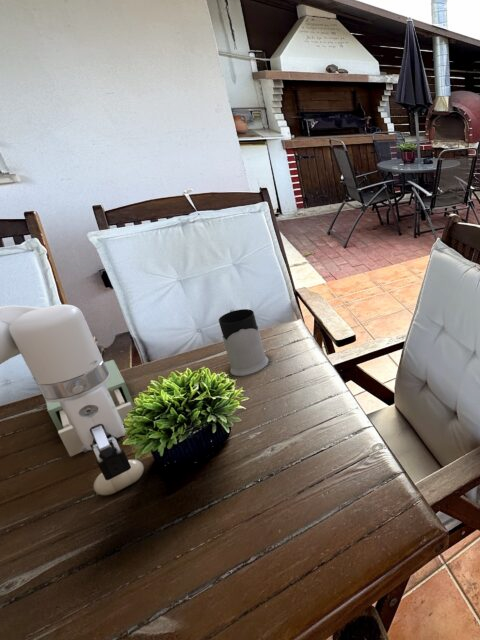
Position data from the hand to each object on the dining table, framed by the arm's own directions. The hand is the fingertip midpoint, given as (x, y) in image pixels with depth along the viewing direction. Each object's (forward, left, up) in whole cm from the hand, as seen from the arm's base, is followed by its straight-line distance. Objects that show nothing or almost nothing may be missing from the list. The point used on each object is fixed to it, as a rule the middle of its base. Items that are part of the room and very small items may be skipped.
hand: (113, 459), depth 70 cm
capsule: (0, 0, -6) cm, 6 cm away
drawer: (-9, +16, -5) cm, 20 cm away
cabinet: (-15, +27, -6) cm, 32 cm away
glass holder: (+14, +36, -7) cm, 39 cm away
